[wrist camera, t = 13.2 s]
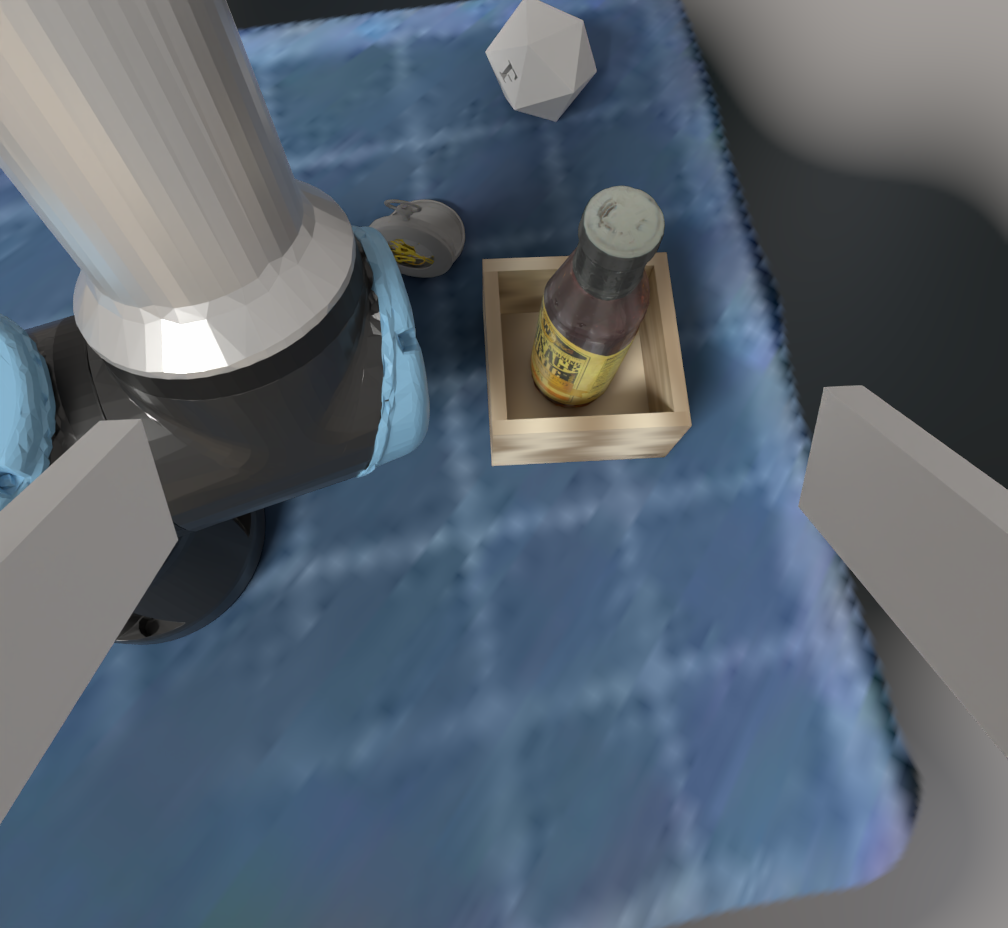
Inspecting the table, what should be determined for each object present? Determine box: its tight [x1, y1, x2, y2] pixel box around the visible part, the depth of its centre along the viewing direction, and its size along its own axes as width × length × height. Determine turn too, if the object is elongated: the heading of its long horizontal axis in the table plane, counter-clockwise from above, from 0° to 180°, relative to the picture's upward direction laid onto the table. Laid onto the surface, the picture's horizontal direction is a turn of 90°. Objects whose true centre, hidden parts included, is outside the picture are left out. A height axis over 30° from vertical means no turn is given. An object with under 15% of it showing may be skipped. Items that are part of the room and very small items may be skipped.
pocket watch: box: [369, 200, 465, 278], centre depth 51 cm, size 8×8×10 cm
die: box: [485, 0, 597, 122], centre depth 57 cm, size 8×9×10 cm
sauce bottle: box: [530, 186, 665, 408], centre depth 42 cm, size 6×6×20 cm
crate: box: [483, 252, 692, 466], centre depth 49 cm, size 13×13×7 cm
